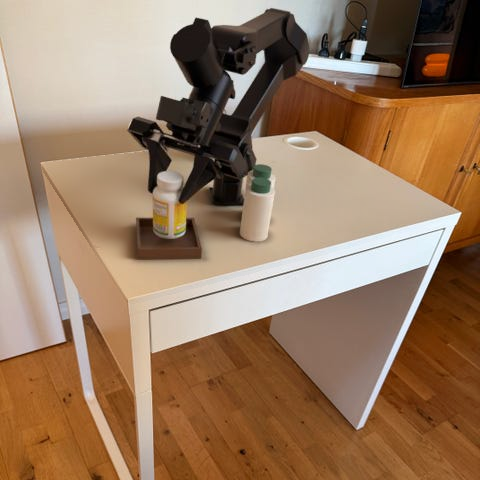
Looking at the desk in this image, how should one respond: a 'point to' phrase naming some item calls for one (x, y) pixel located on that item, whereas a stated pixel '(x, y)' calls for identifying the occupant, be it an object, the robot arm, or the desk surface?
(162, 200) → the supplement bottle
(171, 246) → the tray
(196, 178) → the robot arm
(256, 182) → the white bottle
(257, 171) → the white bottle
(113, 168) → the desk surface
